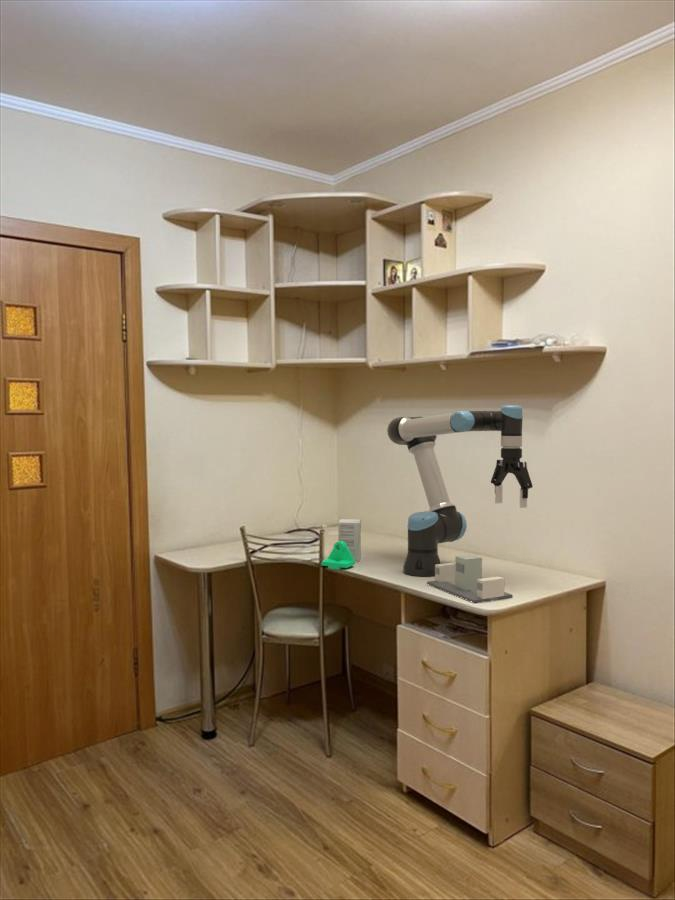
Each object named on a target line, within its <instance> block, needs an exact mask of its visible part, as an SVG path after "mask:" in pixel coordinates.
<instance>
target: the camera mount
mask: <svg viewBox="0 0 675 900" xmlns="http://www.w3.org/2000/svg"><path fill="white" fill-rule="evenodd" d="M340 547H341V548H340ZM321 561H322V560H321ZM320 563H321V562H320ZM355 564H356V562H355V560H354V558H353V556H352V554H351V552H350V550H349V549H348V547H347V545H346V543H345V542H344V541H339V542H338V541H337V542H335V543H334V544H333V548H332V550H331V552H330V553H329V555H328V557H327V558H325V559H323V561H322V563H321V566H325V567H327V569H333V570H340V569H342V568H343V569H344V568H345V569H349V568H350V567H352V566H355Z"/></svg>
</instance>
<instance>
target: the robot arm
mask: <svg viewBox="0 0 675 900" xmlns="http://www.w3.org/2000/svg"><path fill="white" fill-rule="evenodd" d="M523 418H524V416H523V408H522V406H521V405H518V404H517V405H502V406H501V409H500V410H457V411H455V412H450V413H442V414H438V415H430V416H399V417H396V418H393V419H392V420H391V421H390V422H389V424H388V426H387V429H386V431H387V435H388V436H387V437H388V438H389V439H390V441H391V442H392V443H394V444H396V445H399V446H406V447H407V450H408V452H409V453H410V454H412V455H413V457H414V460H415V464H416V466H417V470H418V474H419V476H420V479H421V483H422V487H423V489H424V493H425V496H426V500H427V503H428V506H429V510H428V511H426V510H424V511H418V512H414V513H411V514H410V515H409V516H408V521H407V526H406V527H407V553H406V557H405V561H404V563H403V566H402V567H403V569H402V570H403V571H402V572H403V574H405V575H408V576H414V577H435V565H436V564H442V563H441V559H440V557H439V554H438V553H439V552H438V551H439V550H438V545H439V544H444V543H453V542H455V541H458V540H460V539H462V538H463V537H464V535H465V533H466V530H467V527H468V526H467V520H466V517H465V515H464V514H463V513H461V512H460V511H457V508H456V505H455V504H453V503H452V502H451V501H450V498H449V494H448V491H447V488H446V484H445V482H444V478H443V475H442V472H441V469H440V465H439V462H438V459H437V455H436V453H435V448H434V447H435V445H436V440H437V437H438V436H440V435H447V434H449V435H450V434H456V433H466V432H467V433H468V432H490V431H491V432H500V447H501V448H500V458H501V459H497V460H496V462H495V463H496V464H495V468H494V471H493V474H492V478H491V480H490V484H493V486H494V494H495V497H494V503H495V504H502V503H503V481H504V480H505V479H506V477H507V475H508V474H513V475H514V477H515V478H516V481H517V482H518V485H519V487H520V488H519V508H527V507H528V497H529V489H532V488H533V486H534V485H533V483H532V481H531V476H530V474H529V471H528V465H527V464H528V463H527V461H521V458H523V449H522V448H521V447H522V446H523V434H522V433H523Z"/></svg>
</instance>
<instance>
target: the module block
mask: <svg viewBox="0 0 675 900" xmlns="http://www.w3.org/2000/svg"><path fill="white" fill-rule="evenodd" d="M454 559H455V560H454V562H455V587H456V588H459V589H462V590H464V591H469V590H476V589H477V579H483V562H482V561H483V558H482V557H481V556H478V555H475V554H464V555H455V557H454Z"/></svg>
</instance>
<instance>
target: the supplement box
mask: <svg viewBox="0 0 675 900" xmlns="http://www.w3.org/2000/svg"><path fill="white" fill-rule="evenodd" d="M337 525H338V527H337V529H338V532H337V533H338V538H337V539H338V540H337V542H339V541H344V542H345V543H346V545H347V547H348V549H349V550H350V552H351V554H352V556H353V558H354V560H355V561H360V562H361V555H362V554H361V553H362V552H361V551H362V550H361V549H362V548H361V546H362V543H361V542H362V539H361V538H362V537H361V534H362V533H361V532H362V520H361V519H359V518H358V519H357V518H356V519H353V518H344V519H343V518H341V519H339V521H338V524H337ZM340 548H341V547H340Z"/></svg>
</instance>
